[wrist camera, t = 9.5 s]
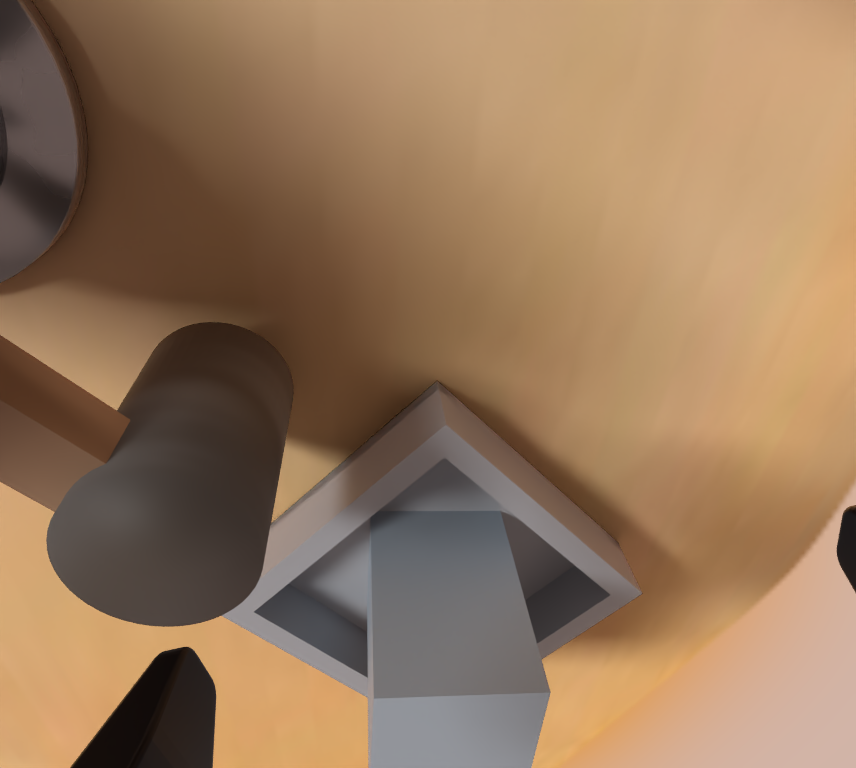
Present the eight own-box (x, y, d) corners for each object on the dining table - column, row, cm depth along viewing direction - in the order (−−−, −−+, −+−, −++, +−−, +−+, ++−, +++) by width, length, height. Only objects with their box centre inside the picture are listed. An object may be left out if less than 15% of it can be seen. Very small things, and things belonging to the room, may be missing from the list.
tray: (437, 381, 20) (446, 424, 18) (617, 542, 25) (642, 593, 22) (231, 558, 23) (217, 613, 21) (424, 675, 28) (429, 732, 25)
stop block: (500, 510, 23) (550, 692, 17) (485, 601, 25) (525, 791, 19) (370, 511, 22) (373, 698, 16) (367, 604, 24) (368, 799, 18)
